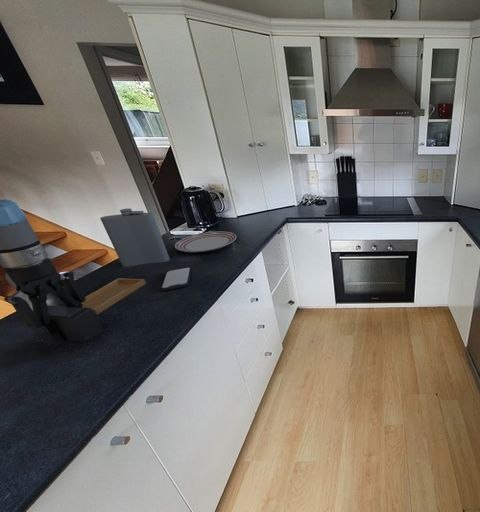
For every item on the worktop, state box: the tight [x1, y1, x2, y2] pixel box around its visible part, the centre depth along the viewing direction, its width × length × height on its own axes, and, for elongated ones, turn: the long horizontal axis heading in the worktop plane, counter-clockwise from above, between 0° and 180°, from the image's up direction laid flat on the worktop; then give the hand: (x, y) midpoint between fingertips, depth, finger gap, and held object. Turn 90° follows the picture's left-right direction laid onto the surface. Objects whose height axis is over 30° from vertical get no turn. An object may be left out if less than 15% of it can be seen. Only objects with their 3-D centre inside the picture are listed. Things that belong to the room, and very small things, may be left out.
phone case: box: [160, 267, 192, 292], centre depth 111 cm, size 9×2×16 cm
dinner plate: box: [174, 231, 238, 254], centre depth 141 cm, size 27×27×3 cm
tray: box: [81, 277, 147, 315], centre depth 100 cm, size 11×20×2 cm, turn 177°
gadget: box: [31, 305, 104, 342], centre depth 77 cm, size 14×5×8 cm, turn 87°
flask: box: [99, 207, 171, 268], centre depth 119 cm, size 17×5×25 cm, turn 111°
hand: (72, 333), depth 79 cm, fingers closed on gadget, 5 cm apart
